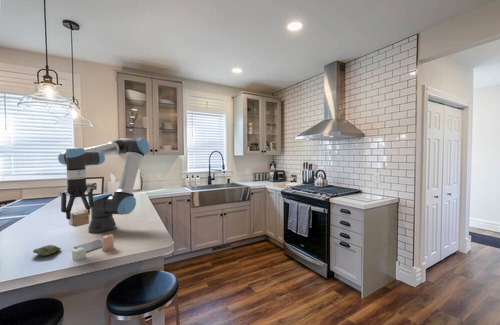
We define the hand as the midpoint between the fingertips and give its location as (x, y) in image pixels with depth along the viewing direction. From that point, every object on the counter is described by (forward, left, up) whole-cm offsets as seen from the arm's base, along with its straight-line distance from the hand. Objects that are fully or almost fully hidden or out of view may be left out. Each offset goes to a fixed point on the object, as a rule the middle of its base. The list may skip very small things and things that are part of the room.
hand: (78, 223), depth 114 cm
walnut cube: (+1, 0, 0) cm, 1 cm away
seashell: (-12, -10, -15) cm, 22 cm away
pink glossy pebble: (+11, +8, -14) cm, 20 cm away
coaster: (0, +6, -14) cm, 15 cm away
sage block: (+9, -4, -14) cm, 18 cm away
